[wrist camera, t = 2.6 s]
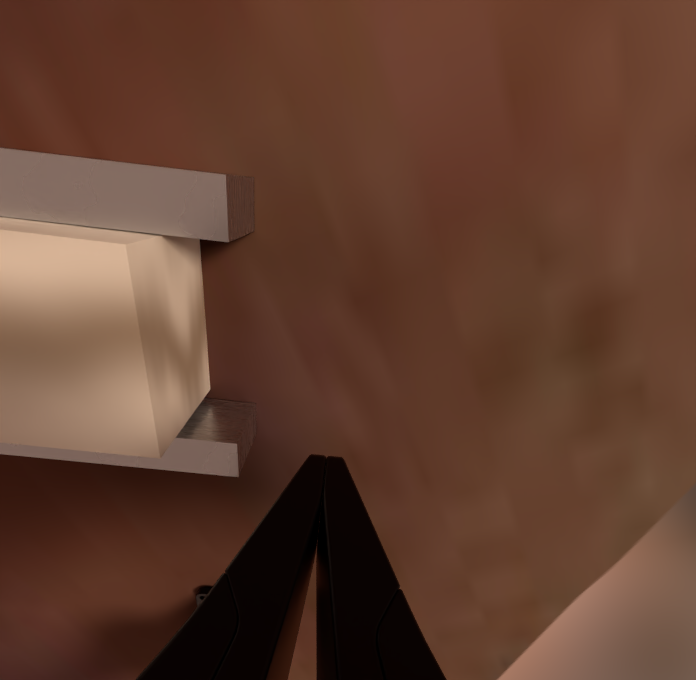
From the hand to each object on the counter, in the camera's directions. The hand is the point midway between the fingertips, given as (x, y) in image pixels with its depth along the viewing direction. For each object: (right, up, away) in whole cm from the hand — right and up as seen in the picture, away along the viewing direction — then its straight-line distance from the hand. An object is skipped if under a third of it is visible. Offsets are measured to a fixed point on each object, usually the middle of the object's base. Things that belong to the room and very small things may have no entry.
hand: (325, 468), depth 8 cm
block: (-10, +5, +7) cm, 13 cm away
